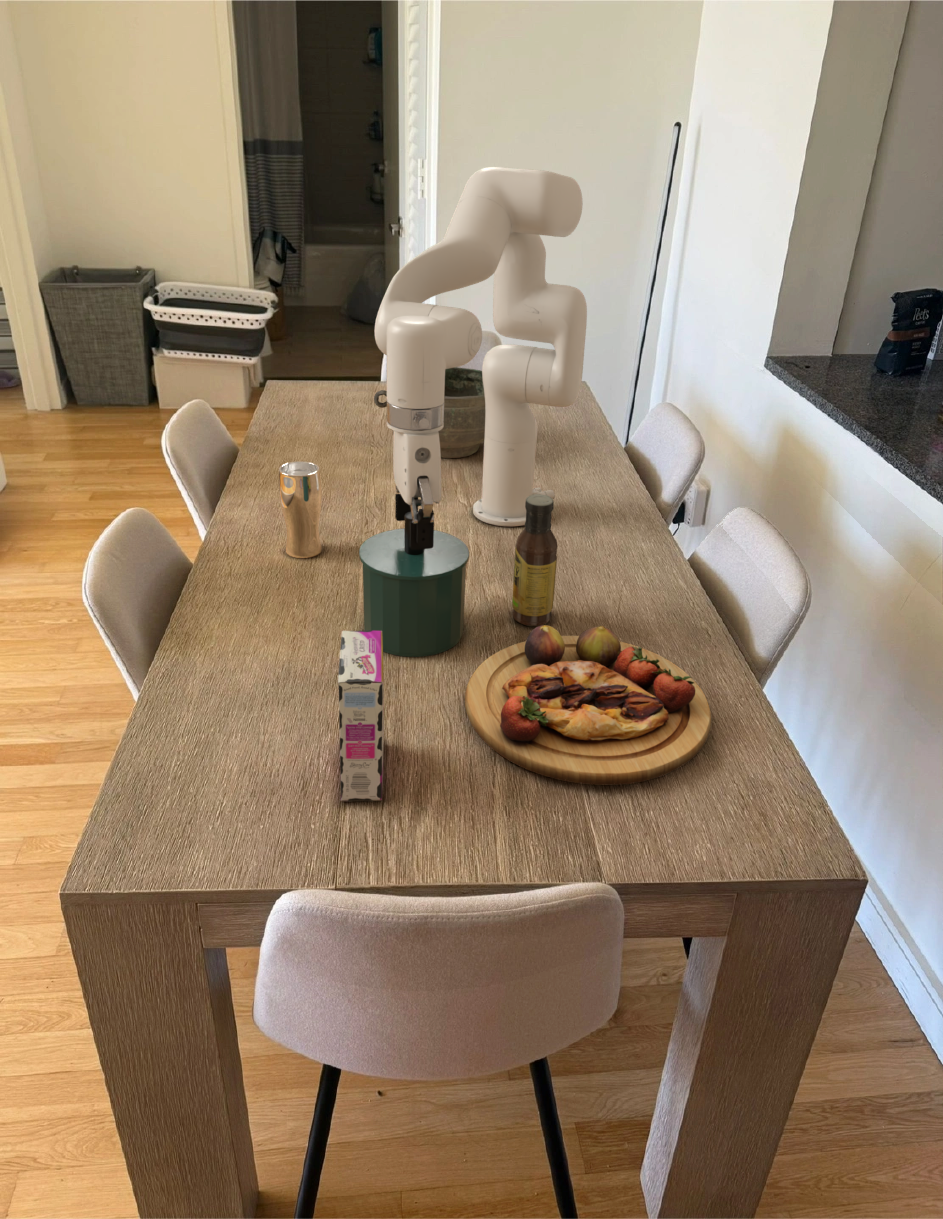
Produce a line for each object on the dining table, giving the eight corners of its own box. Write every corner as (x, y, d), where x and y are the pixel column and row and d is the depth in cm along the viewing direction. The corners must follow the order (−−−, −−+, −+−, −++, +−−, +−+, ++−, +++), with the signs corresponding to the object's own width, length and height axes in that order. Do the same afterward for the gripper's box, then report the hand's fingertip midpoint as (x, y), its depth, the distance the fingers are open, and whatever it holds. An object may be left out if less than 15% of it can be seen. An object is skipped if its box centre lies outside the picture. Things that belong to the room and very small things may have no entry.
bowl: (506, 426, 224) (509, 363, 216) (531, 466, 202) (536, 397, 194) (369, 428, 218) (368, 364, 211) (380, 470, 196) (379, 399, 189)
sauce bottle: (517, 604, 149) (526, 486, 139) (556, 612, 147) (567, 493, 137) (505, 623, 143) (513, 502, 134) (545, 632, 142) (555, 509, 132)
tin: (436, 598, 149) (437, 526, 143) (480, 643, 138) (484, 567, 132) (349, 617, 143) (347, 542, 137) (388, 666, 132) (387, 587, 126)
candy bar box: (384, 802, 108) (383, 682, 99) (340, 803, 107) (335, 683, 99) (384, 741, 117) (383, 628, 109) (343, 742, 117) (339, 628, 109)
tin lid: (439, 528, 144) (440, 487, 141) (488, 571, 132) (490, 527, 129) (342, 545, 137) (341, 503, 134) (385, 593, 126) (385, 547, 122)
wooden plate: (545, 822, 106) (550, 764, 102) (424, 677, 130) (424, 626, 126) (762, 747, 119) (775, 693, 115) (615, 629, 143) (622, 580, 139)
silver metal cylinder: (316, 561, 159) (312, 478, 152) (277, 556, 160) (270, 473, 153) (329, 544, 165) (326, 463, 158) (291, 539, 166) (286, 458, 159)
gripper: (459, 434, 118) (455, 558, 126) (428, 394, 132) (426, 507, 141) (400, 437, 116) (399, 562, 124) (375, 396, 131) (376, 511, 139)
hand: (413, 533), depth 133 cm, fingers open, 9 cm apart
